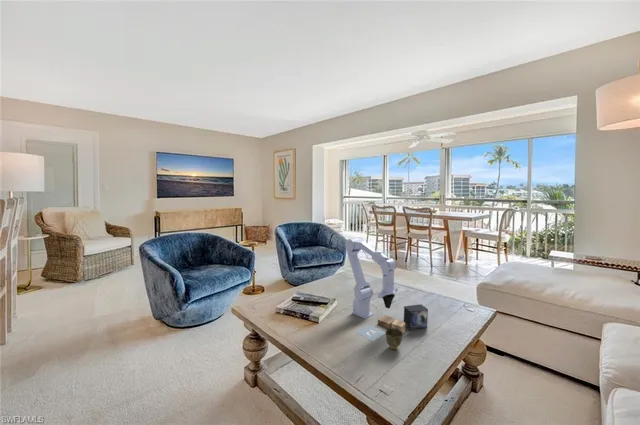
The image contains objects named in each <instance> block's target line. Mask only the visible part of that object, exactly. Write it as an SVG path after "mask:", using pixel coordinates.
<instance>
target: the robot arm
mask: <svg viewBox="0 0 640 425" xmlns="http://www.w3.org/2000/svg"><path fill="white" fill-rule="evenodd" d="M344 245H345V249H346V253H347V257H348V261H349V264H350V267H351V272H352V275H353V277H354V281H355V285H354V287H353V291H354V298H353V301H352V312H351V314H354V315H355V316H357V317H360V318H362V319H367V318H369V317H371V316H373V315H374V313H373V312H371V299H372V297H373V295H374V291H373V288H372V287H371V285H370V283H369V282H367V281H366V278H365V276H364V272H363V269H362V266H361V262H360V259H359V257H358V256H359V255H358V254H359V252H361V250H362V251H363V252H364V253H366V254H368V255H369V256H371V259H372V261H374V262H375V263H376V264H377V265H378V266H380V269H381V273H382V289H381V291H379V292H378V293H377V298H379V299H383V304H384V307H385V309H390V308H391V306H392V302H393V300H394V298H395V295H396V292H398V290H399V289H398V287H396V286H394V285H395V270H396V269H397V267H398V263H397V261H396V260H395V259H394V258H390V257H388V256H386V255H385V254H383V251H381V250H375V249H374V248H373V247H372V246H370V245H369V244H368V243H367V242H366V240H365V239H364V238H363V237H361V236H360V237H355V238H348V239H347V240H346V242H345V244H344Z"/></svg>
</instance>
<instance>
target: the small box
mask: <svg viewBox="0 0 640 425" xmlns="http://www.w3.org/2000/svg"><path fill="white" fill-rule="evenodd" d="M428 316H429V309H428V308H427V307H426V306H424V305H423V304H422V303H420V304H413V305H404V306H403V322H405V329H407V330H408V331H414V330H422V329H427V328H428Z"/></svg>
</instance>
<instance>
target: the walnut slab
mask: <svg viewBox="0 0 640 425" xmlns="http://www.w3.org/2000/svg"><path fill="white" fill-rule="evenodd" d="M395 320H397V319H396V318H394V317H391V316H389V315H387V314H384V315H383V316H382V315H381V317H379V318H377V324H378V325H380V326H382V327H384V328H386V329H388V328H391V329H392V323H393V322H394V321H395Z"/></svg>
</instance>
